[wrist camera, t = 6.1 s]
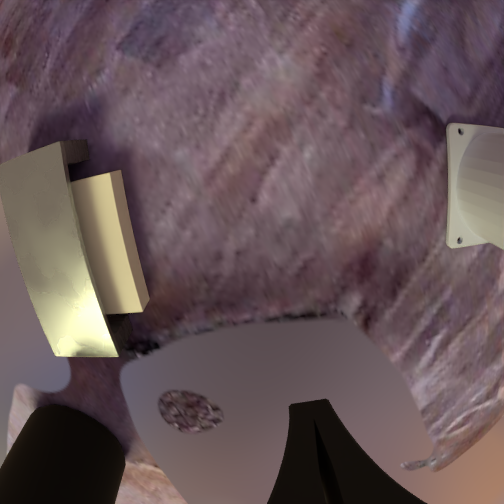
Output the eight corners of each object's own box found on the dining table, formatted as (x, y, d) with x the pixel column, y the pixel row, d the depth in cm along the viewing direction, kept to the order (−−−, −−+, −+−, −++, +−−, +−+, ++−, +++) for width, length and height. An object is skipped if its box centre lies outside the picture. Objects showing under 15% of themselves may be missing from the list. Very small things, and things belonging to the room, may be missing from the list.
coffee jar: (89, 468, 27) (52, 588, 10) (20, 410, 24) (-45, 532, 7) (150, 457, 25) (119, 614, 8) (68, 387, 22) (-13, 558, 5)
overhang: (86, 139, 16) (59, 141, 13) (132, 330, 20) (118, 356, 17) (24, 160, 16) (-5, 166, 13) (73, 332, 20) (55, 356, 17)
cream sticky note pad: (120, 169, 16) (109, 172, 15) (149, 299, 19) (142, 312, 17) (40, 190, 16) (26, 195, 15) (72, 305, 19) (62, 316, 18)
